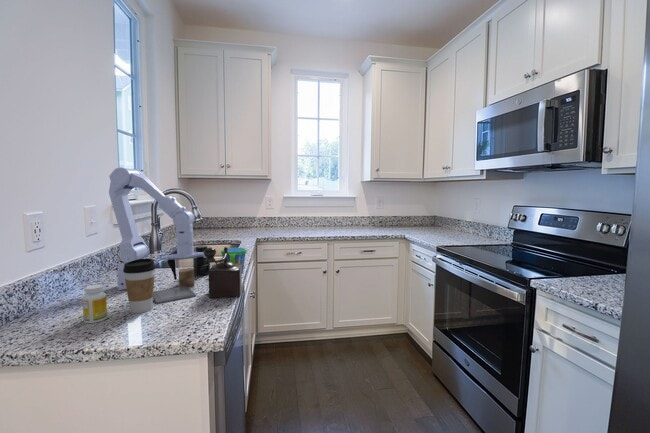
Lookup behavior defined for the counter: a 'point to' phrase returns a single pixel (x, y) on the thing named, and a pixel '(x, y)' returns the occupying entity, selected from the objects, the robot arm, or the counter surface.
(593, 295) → the counter surface
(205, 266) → the supplement bottle
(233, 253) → the snack cup
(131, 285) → the coffee cup
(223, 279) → the manual coffee grinder
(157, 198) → the robot arm
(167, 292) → the coaster
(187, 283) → the block
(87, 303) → the supplement bottle
